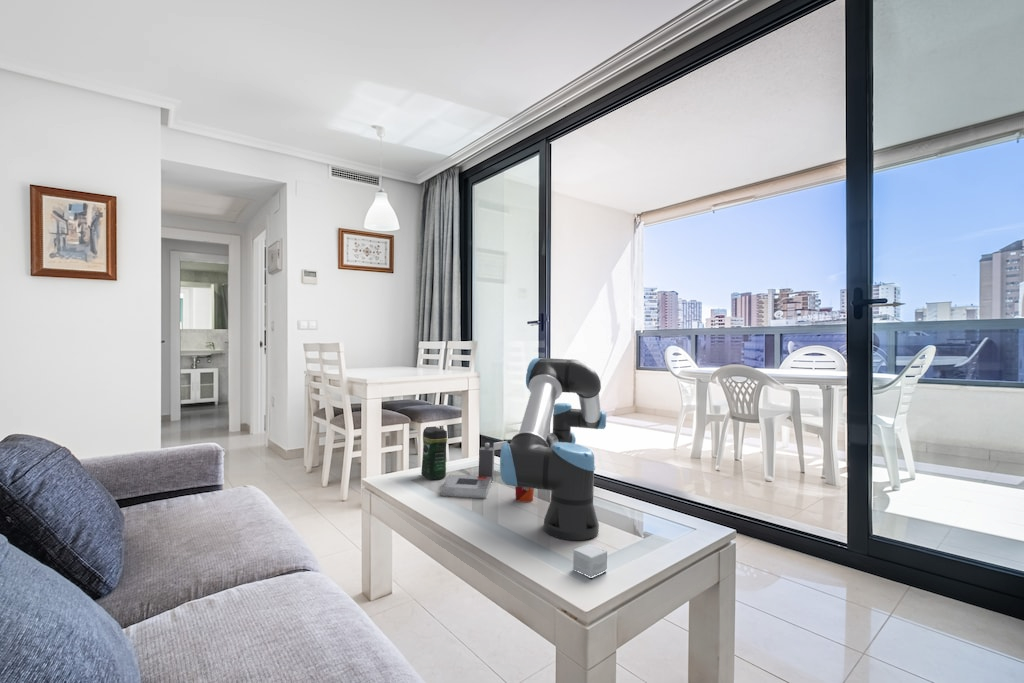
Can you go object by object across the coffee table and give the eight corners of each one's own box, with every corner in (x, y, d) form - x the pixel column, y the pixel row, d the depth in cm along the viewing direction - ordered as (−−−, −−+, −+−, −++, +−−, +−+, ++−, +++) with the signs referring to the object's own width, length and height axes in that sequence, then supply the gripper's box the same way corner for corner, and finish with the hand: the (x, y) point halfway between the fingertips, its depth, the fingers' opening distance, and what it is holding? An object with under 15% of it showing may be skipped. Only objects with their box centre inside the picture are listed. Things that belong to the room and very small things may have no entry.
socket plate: (486, 498, 159) (486, 488, 159) (440, 495, 160) (441, 485, 160) (491, 485, 174) (491, 475, 174) (449, 482, 175) (450, 473, 175)
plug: (491, 483, 176) (493, 445, 176) (478, 482, 176) (479, 444, 176) (493, 479, 180) (494, 442, 181) (480, 479, 181) (481, 441, 181)
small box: (588, 563, 114) (588, 542, 114) (607, 573, 110) (608, 551, 110) (571, 570, 110) (572, 548, 110) (591, 580, 106) (591, 557, 106)
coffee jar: (449, 478, 180) (450, 428, 180) (429, 481, 175) (431, 430, 175) (437, 472, 188) (439, 424, 188) (418, 474, 183) (420, 425, 183)
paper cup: (528, 504, 154) (530, 460, 154) (508, 500, 158) (509, 457, 158) (540, 498, 160) (541, 456, 161) (520, 494, 165) (521, 452, 165)
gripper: (567, 458, 189) (527, 467, 175) (524, 446, 208) (484, 453, 194) (567, 439, 189) (527, 446, 175) (524, 429, 208) (485, 434, 194)
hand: (505, 450), depth 184 cm, fingers open, 13 cm apart
